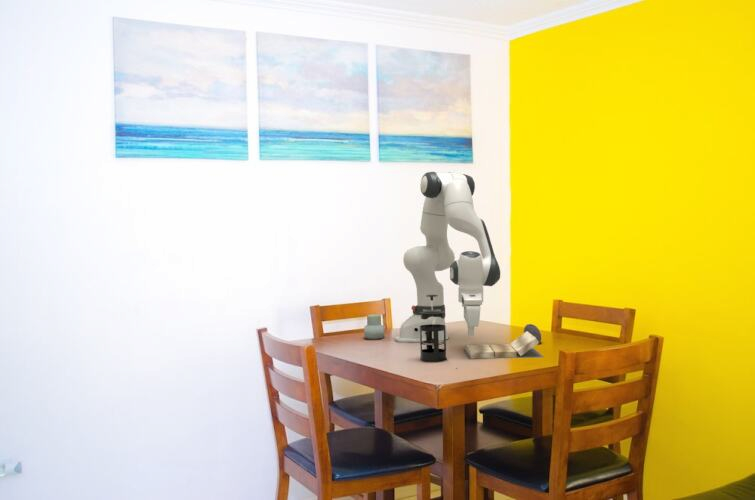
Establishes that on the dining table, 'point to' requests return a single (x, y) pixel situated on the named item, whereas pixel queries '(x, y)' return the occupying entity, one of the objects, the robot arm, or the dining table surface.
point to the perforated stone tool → (533, 331)
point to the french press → (432, 331)
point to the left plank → (480, 351)
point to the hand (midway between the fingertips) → (470, 335)
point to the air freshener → (374, 327)
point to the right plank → (524, 343)
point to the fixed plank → (503, 350)
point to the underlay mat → (529, 354)
